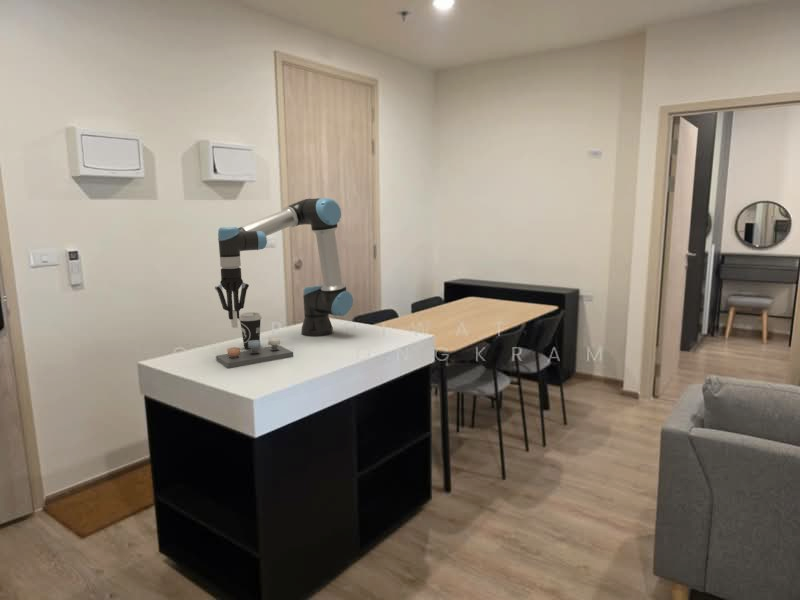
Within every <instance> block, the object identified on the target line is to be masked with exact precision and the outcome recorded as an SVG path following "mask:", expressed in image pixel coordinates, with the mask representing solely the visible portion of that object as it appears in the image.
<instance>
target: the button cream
mask: <svg viewBox="0 0 800 600" xmlns="http://www.w3.org/2000/svg"><path fill="white" fill-rule="evenodd" d="M267 340H268V341H267V342H268V345H269V346H270V347H272V349H277V348H278V347H277V346H278V345H279V346H280V345H281V337H279V336H271V337H268V338H267Z"/></svg>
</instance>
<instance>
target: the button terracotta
mask: <svg viewBox="0 0 800 600" xmlns="http://www.w3.org/2000/svg"><path fill="white" fill-rule="evenodd" d="M226 351H227V354H228V356H231V359H234V358H237V356H239V355H240V352H241V348H240V347H238V346H237V347H229V348H227V350H226Z"/></svg>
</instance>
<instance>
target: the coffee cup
mask: <svg viewBox="0 0 800 600" xmlns="http://www.w3.org/2000/svg"><path fill="white" fill-rule="evenodd" d="M261 319H262V315H261V314H260V313H259V312H256V311H255V312H243V313H240V314H239V319H238V321H239V323H240V330H241V335H242V337H241V338H242V341H243V342H242V343H243V348H244V350H247V351H248V350H252V349H251V348H248V341H250V340H260V341H261Z"/></svg>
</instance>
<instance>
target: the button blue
mask: <svg viewBox="0 0 800 600" xmlns="http://www.w3.org/2000/svg"><path fill="white" fill-rule="evenodd" d="M261 344H262V343H261V339H260V340H250V341H248V348H251V349H252V352H258V349H260V348H262V345H261Z"/></svg>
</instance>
